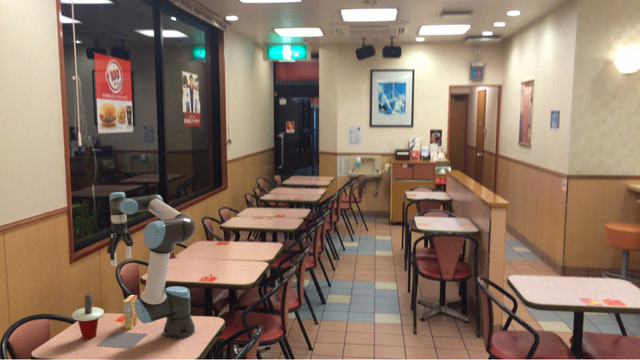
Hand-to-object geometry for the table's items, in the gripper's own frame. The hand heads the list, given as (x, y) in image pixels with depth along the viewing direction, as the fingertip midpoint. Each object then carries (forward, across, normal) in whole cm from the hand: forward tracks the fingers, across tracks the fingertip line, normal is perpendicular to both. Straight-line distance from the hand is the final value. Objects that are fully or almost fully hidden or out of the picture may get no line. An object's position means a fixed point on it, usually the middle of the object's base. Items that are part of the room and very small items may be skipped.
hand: (121, 261), depth 259 cm
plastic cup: (+33, +21, -6) cm, 39 cm away
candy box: (+33, +5, +7) cm, 34 cm away
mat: (+33, +22, +12) cm, 41 cm away
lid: (+21, +21, -6) cm, 30 cm away
